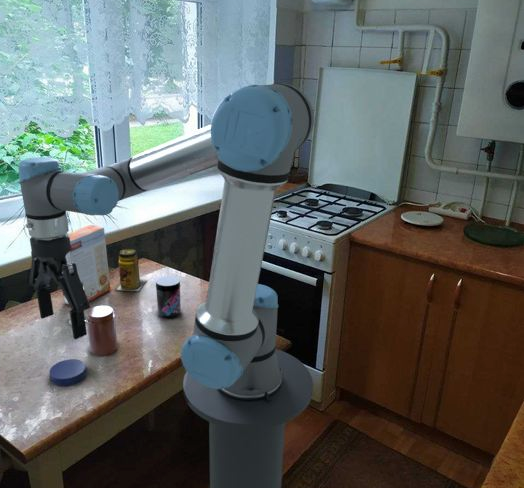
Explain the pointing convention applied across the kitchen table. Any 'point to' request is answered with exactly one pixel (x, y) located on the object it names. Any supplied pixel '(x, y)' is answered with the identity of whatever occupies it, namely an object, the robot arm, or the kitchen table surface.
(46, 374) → the kitchen table surface
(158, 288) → the supplement container
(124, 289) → the condiment
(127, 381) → the kitchen table surface
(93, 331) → the jar
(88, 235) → the cracker box
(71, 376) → the lid
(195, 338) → the robot arm
